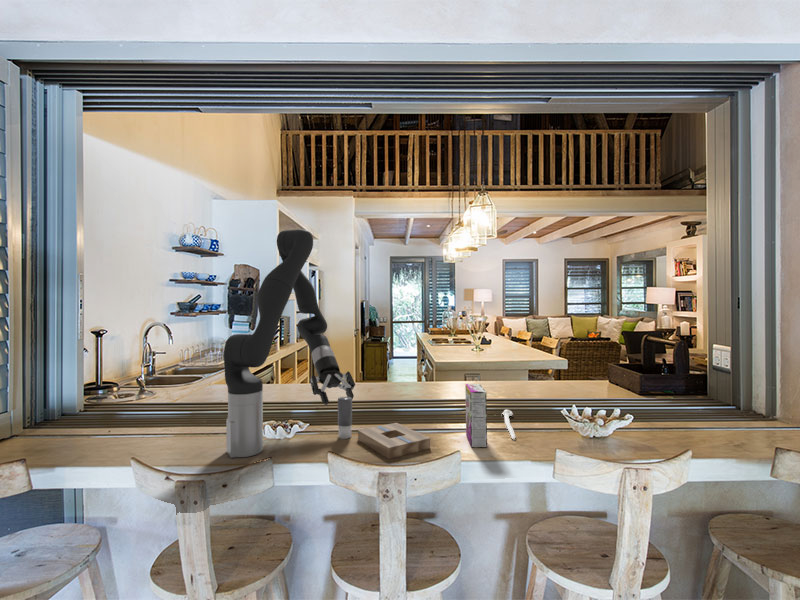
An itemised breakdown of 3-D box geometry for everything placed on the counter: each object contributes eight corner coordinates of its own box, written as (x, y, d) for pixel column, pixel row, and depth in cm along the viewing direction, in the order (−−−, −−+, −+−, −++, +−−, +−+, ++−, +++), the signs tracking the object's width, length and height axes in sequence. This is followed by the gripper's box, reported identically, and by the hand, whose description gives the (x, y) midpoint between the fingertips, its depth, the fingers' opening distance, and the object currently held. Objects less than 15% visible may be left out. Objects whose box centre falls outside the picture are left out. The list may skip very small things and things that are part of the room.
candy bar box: (464, 435, 130) (464, 383, 130) (480, 435, 130) (480, 383, 130) (470, 448, 119) (470, 391, 119) (487, 448, 118) (487, 391, 118)
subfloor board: (388, 458, 111) (388, 447, 111) (358, 440, 126) (358, 429, 126) (430, 448, 118) (430, 437, 118) (396, 431, 134) (396, 422, 134)
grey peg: (341, 440, 126) (341, 400, 126) (335, 436, 130) (335, 398, 130) (354, 437, 128) (354, 399, 128) (348, 433, 132) (348, 396, 132)
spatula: (524, 442, 124) (524, 433, 124) (510, 441, 125) (510, 432, 125) (512, 416, 152) (512, 408, 152) (501, 415, 153) (501, 408, 153)
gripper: (308, 356, 136) (321, 398, 126) (347, 353, 144) (362, 392, 134) (302, 370, 140) (315, 411, 131) (340, 366, 148) (355, 405, 139)
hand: (339, 401), depth 133 cm, fingers open, 8 cm apart
